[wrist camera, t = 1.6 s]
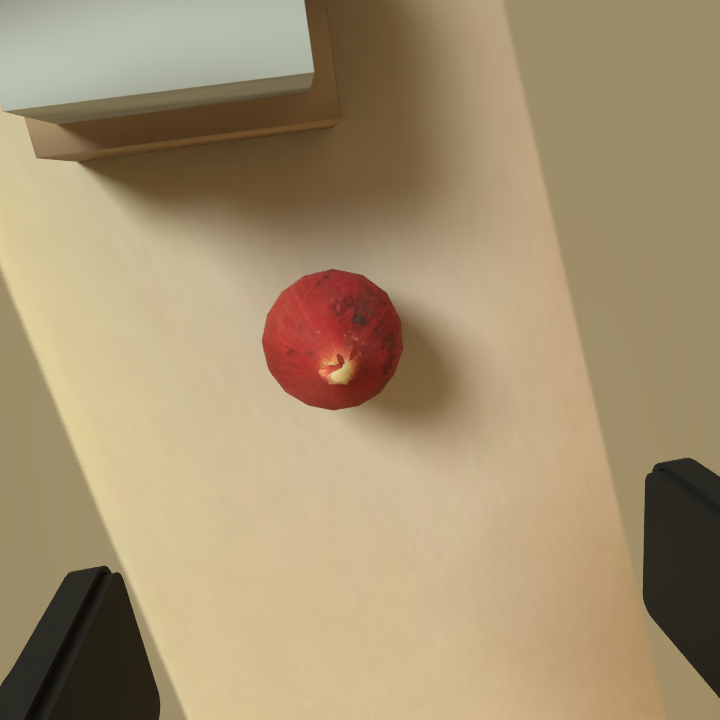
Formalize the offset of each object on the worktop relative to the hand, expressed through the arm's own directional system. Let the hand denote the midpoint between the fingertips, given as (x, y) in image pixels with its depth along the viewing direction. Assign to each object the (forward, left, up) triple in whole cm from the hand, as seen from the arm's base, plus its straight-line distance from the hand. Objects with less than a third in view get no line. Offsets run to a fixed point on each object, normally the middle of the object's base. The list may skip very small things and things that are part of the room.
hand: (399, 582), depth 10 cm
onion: (0, 0, -19) cm, 19 cm away
